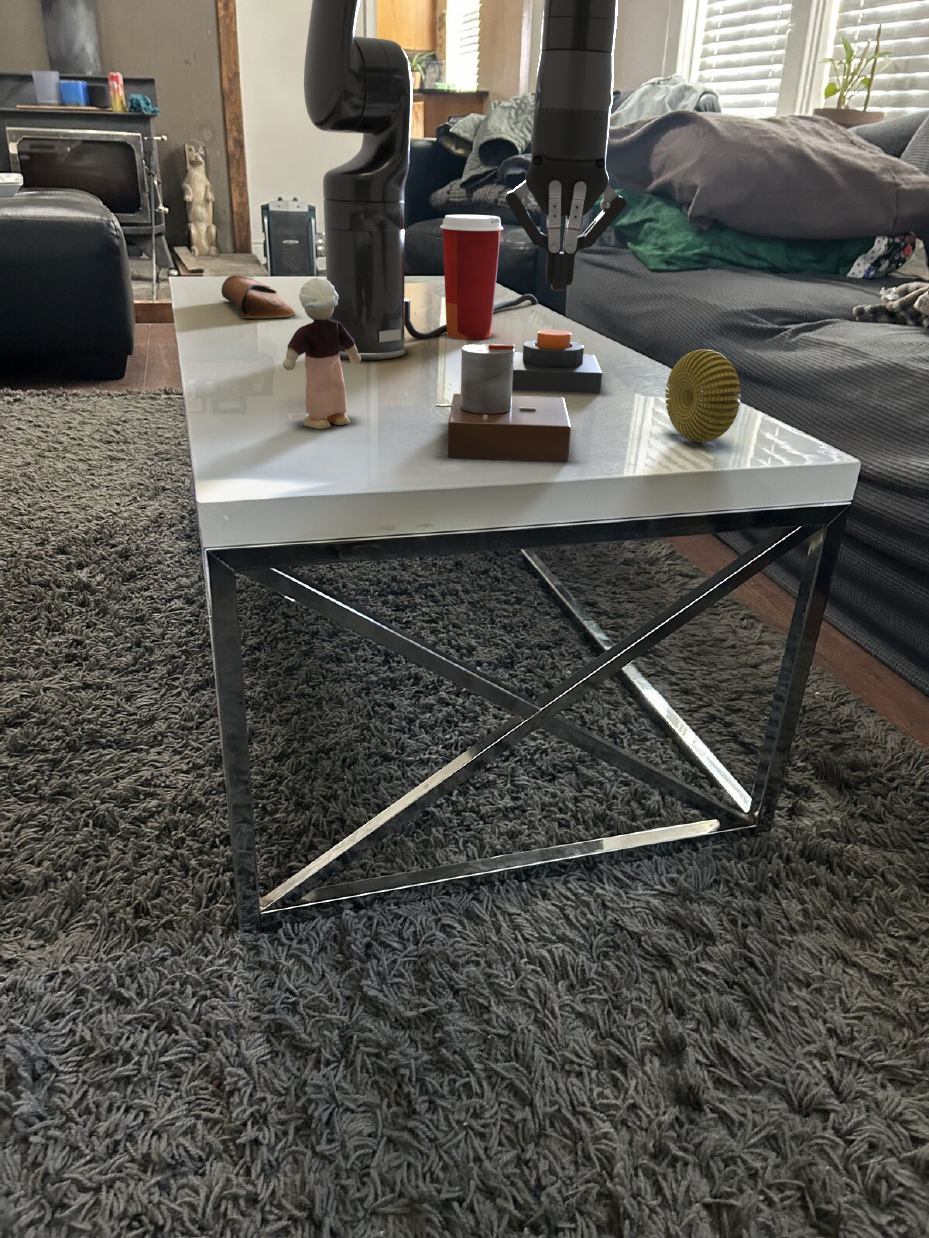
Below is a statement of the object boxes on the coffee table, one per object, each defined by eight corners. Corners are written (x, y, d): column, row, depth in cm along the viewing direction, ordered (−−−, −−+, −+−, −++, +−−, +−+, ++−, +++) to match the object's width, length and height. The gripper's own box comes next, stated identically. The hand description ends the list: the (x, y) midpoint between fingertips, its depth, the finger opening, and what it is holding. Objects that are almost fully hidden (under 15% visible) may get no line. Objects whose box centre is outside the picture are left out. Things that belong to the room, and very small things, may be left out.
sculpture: (652, 431, 88) (662, 342, 85) (687, 427, 90) (699, 340, 86) (704, 454, 82) (718, 360, 78) (742, 450, 83) (757, 357, 80)
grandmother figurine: (338, 412, 91) (334, 272, 85) (367, 420, 89) (364, 277, 83) (276, 428, 86) (267, 279, 80) (305, 436, 84) (298, 284, 78)
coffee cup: (509, 334, 131) (515, 216, 125) (480, 343, 125) (484, 219, 118) (457, 327, 135) (460, 213, 129) (426, 336, 129) (427, 215, 122)
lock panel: (438, 425, 88) (439, 391, 87) (561, 429, 88) (563, 395, 86) (431, 457, 79) (432, 419, 78) (568, 462, 79) (571, 424, 78)
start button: (536, 345, 106) (537, 328, 105) (568, 346, 106) (569, 329, 105) (537, 351, 103) (538, 334, 102) (570, 352, 103) (572, 335, 102)
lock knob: (460, 413, 80) (462, 349, 78) (460, 400, 84) (461, 339, 82) (512, 414, 80) (515, 350, 78) (510, 402, 84) (512, 340, 82)
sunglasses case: (300, 314, 139) (274, 272, 135) (260, 341, 138) (233, 300, 135) (274, 296, 154) (250, 259, 150) (238, 321, 153) (213, 284, 150)
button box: (505, 370, 110) (507, 335, 109) (592, 373, 110) (595, 338, 108) (506, 390, 101) (507, 352, 100) (600, 393, 101) (603, 355, 99)
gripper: (633, 109, 98) (614, 287, 106) (504, 104, 97) (495, 282, 105) (645, 108, 91) (624, 298, 99) (506, 102, 91) (497, 292, 99)
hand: (557, 289), depth 102 cm, fingers closed
